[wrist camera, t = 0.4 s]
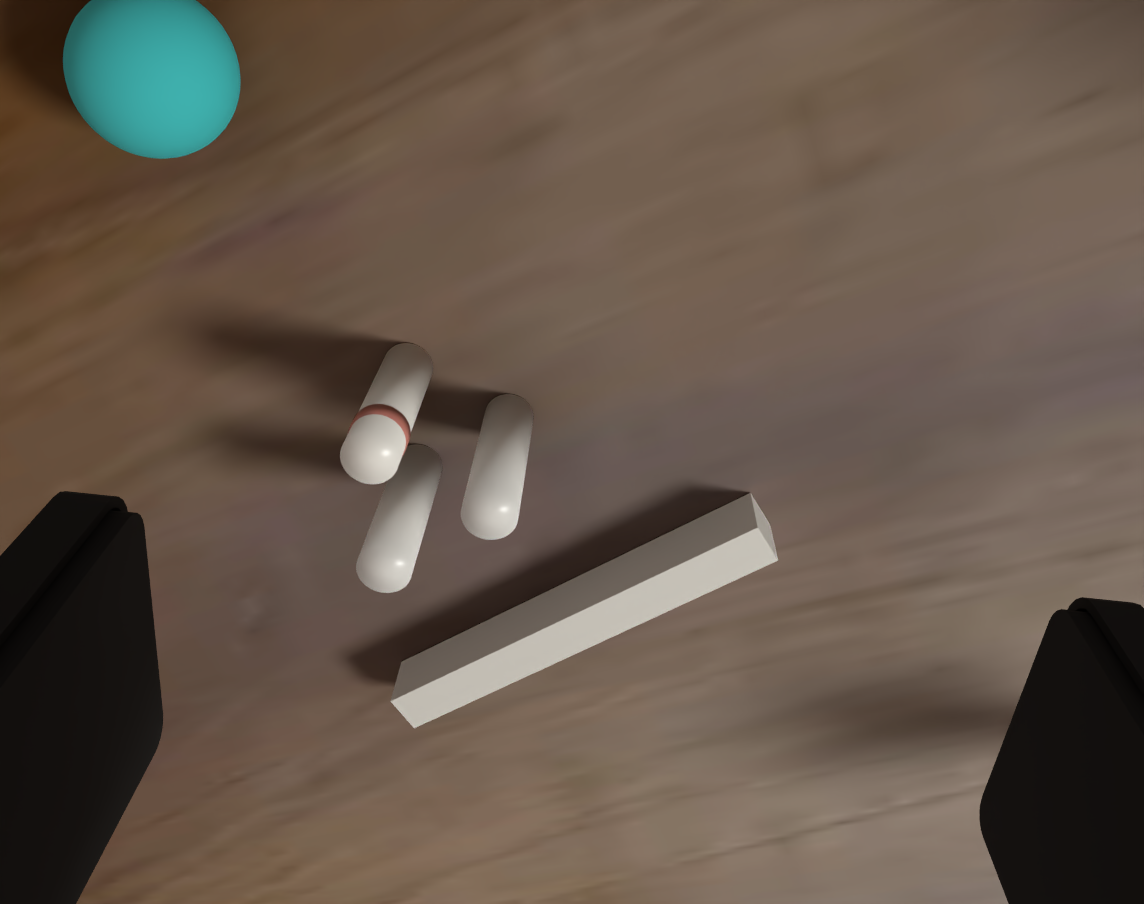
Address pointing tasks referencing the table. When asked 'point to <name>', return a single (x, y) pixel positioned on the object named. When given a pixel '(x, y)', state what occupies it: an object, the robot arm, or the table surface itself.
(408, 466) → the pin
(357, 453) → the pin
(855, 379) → the table surface
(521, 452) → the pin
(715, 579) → the wall
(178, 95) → the ball
